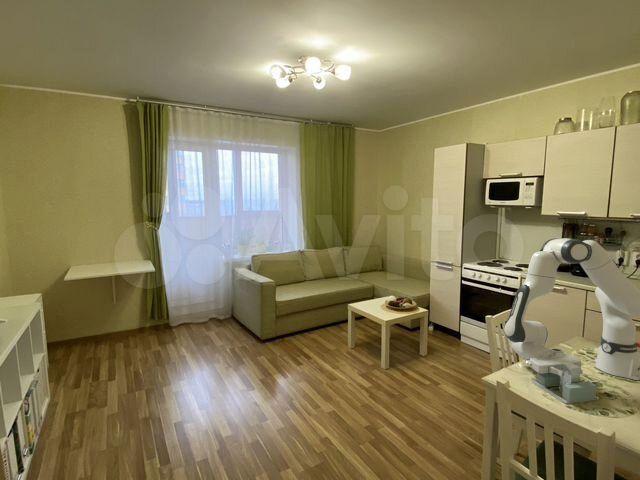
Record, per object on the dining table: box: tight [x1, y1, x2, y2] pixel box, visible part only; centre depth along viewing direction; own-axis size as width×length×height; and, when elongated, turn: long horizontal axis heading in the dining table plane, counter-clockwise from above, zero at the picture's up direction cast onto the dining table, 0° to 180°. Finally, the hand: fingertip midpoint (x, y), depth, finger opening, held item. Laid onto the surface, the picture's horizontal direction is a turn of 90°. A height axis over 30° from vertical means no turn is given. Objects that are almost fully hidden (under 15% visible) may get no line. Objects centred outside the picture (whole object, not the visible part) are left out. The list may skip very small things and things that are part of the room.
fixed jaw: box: [532, 380, 600, 405], centre depth 139 cm, size 15×16×6 cm
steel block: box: [558, 362, 582, 394], centre depth 136 cm, size 4×5×12 cm
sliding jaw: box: [536, 372, 560, 388], centre depth 144 cm, size 12×4×4 cm, turn 100°
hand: (572, 373), depth 135 cm, fingers open, 7 cm apart
